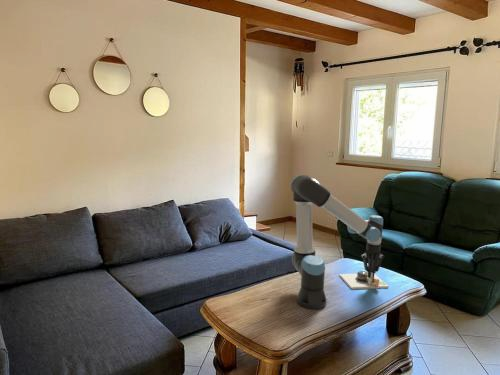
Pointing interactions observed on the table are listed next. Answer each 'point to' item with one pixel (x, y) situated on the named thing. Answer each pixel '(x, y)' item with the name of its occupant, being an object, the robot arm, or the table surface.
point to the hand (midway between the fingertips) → (370, 282)
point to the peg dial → (364, 277)
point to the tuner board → (360, 282)
